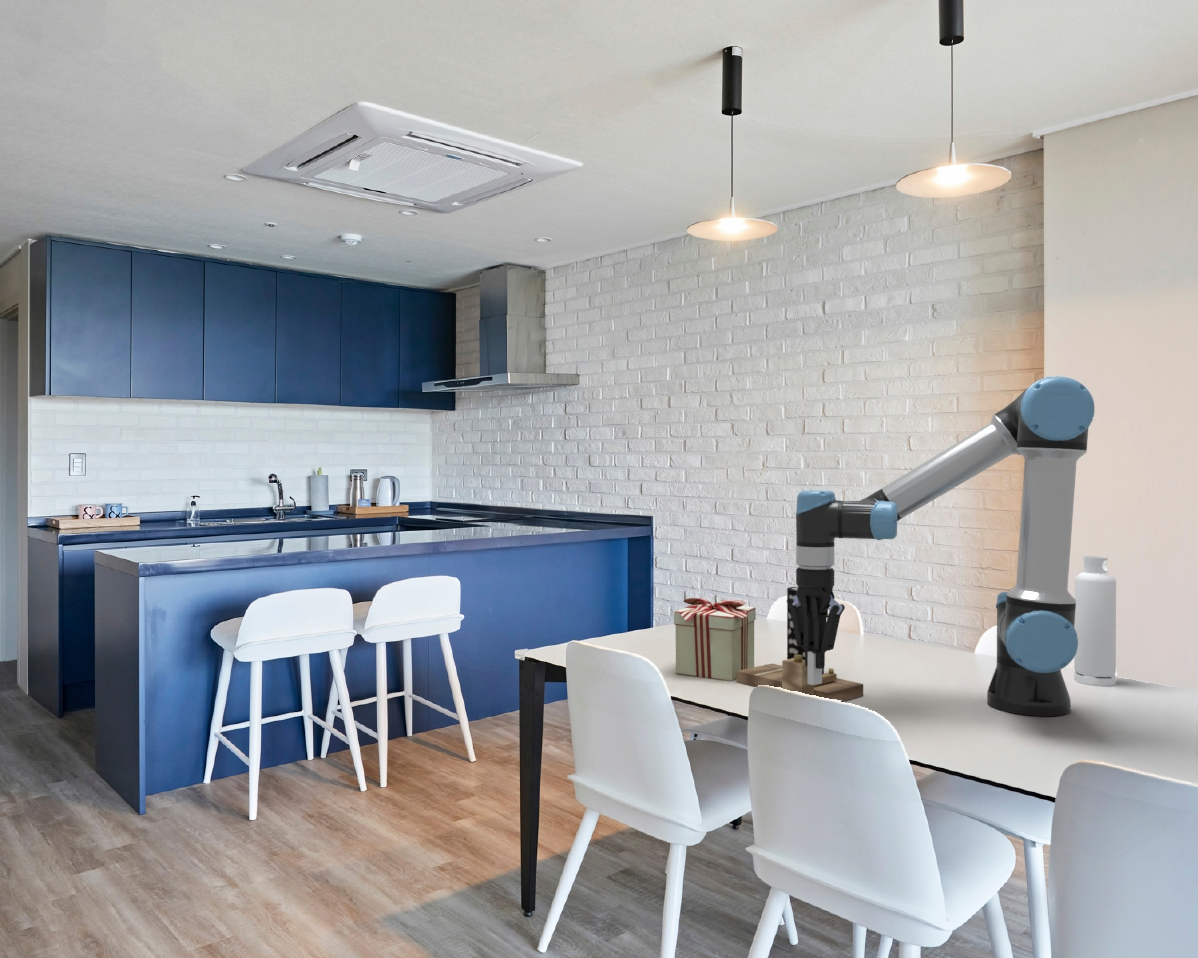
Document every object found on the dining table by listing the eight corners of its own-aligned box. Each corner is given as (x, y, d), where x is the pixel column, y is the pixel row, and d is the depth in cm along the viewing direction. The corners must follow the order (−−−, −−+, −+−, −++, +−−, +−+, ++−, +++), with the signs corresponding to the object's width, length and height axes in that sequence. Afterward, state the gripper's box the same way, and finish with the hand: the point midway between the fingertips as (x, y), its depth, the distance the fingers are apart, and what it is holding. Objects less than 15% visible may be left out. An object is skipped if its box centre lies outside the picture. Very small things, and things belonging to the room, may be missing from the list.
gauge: (842, 693, 188) (842, 650, 188) (801, 704, 180) (801, 658, 180) (823, 689, 192) (823, 646, 192) (782, 699, 184) (782, 654, 184)
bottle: (1081, 675, 205) (1081, 554, 205) (1120, 681, 199) (1121, 556, 199) (1069, 681, 199) (1069, 557, 199) (1109, 687, 193) (1109, 559, 193)
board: (863, 695, 187) (863, 683, 187) (827, 705, 180) (827, 692, 180) (772, 674, 207) (772, 663, 207) (736, 681, 200) (736, 670, 200)
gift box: (667, 677, 204) (667, 603, 204) (694, 661, 221) (694, 592, 220) (740, 685, 197) (739, 607, 196) (761, 668, 213) (761, 596, 213)
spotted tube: (824, 679, 201) (824, 591, 201) (787, 678, 203) (787, 590, 203) (823, 671, 210) (823, 587, 209) (787, 669, 211) (787, 586, 211)
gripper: (853, 568, 176) (853, 687, 177) (801, 562, 186) (801, 674, 187) (830, 571, 172) (829, 692, 172) (777, 565, 182) (777, 680, 182)
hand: (814, 683), depth 179 cm, fingers closed
